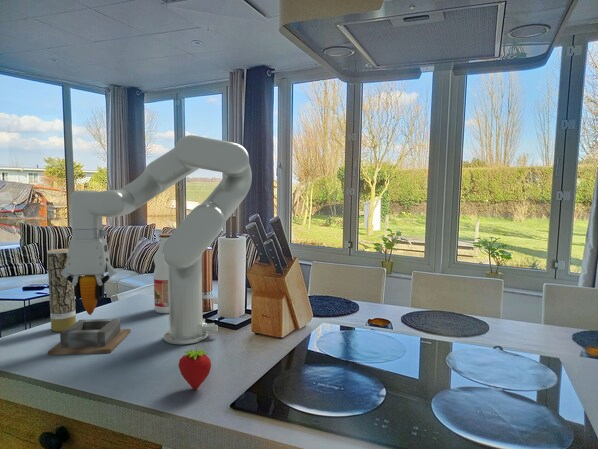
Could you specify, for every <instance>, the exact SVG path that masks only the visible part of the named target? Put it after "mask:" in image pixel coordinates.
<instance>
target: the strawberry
mask: <svg viewBox="0 0 598 449" xmlns="http://www.w3.org/2000/svg"><path fill="white" fill-rule="evenodd" d="M196 343H197V344H196V350H193V349H190V350H187V351H184V353H185V354H183V356H181V357H180V359H179V362H178V365H177V366H178V369H179V371H180V375H181V376H182V377H183V379H184V380H185V381H186V382H187V383H188V385H189V386H190V388H192V389H193V390H197V389H199V388H200V387H201V385H202V383H204V382H205V381H206V378H207V377H208V375H209V374H210V373H211V369H212V361H211V359H210V358H209V356H207V355H209V354H208V352H205V350H206V349H207V348H203V349H198V346H199V342H196Z"/></svg>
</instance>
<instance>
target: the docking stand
mask: <svg viewBox="0 0 598 449" xmlns="http://www.w3.org/2000/svg"><path fill="white" fill-rule="evenodd" d="M130 333H131V328H123V329H122V328H121V318H96V319H93V318H92V319H79V320H76V323H74V324H73V325H71V326H70V327H69V328H67V329H66V330H64V331H62V332H59V337H60V341H59V343H57V344H56V345H54V346H53V347H52V348H50V349H49V350H48V351H47V355H49V356H52V355H53V356H54V355H56V356H58V355H83V354H85V355H87V354H110V353H112V352H113V351H114V350H115V349H116V348H117V347H119V345H120V344H121V343H122V342H123V341H124V340H125V339H126V338H127V337H128V336H129V334H130Z"/></svg>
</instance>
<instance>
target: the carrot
mask: <svg viewBox="0 0 598 449" xmlns="http://www.w3.org/2000/svg"><path fill="white" fill-rule="evenodd" d="M79 283H80V294H81V299H80V300H81V302H82V305H83V307H84V308H83V309H85V311H86V313H87V314H88V315H89V316H92V315H93V313H94V311H95V309H96V306H97V304H98V300H97V299H96V286H97V285H98V283H97V280H96V277H95V275H82V277H81V278H80V280H79Z"/></svg>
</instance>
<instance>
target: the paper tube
mask: <svg viewBox="0 0 598 449" xmlns="http://www.w3.org/2000/svg"><path fill="white" fill-rule="evenodd" d="M68 249H69V248H56V249H55V248H54V249H48V250H47V251H46V252H47V253H46V254H47V274H48V276H47V277H48V290H49V292H48V294H49V311H50V316H49V317H50V329H51V330H52V332H55V333H56V332H58V333H61V332H63V331H64V330H66V329H67V328H69V327H70V326H71V325H73V324H74V323H76V322H77V320H76V319H77V318H76V317H77V316H76V314H77V313H76V296H74V286H73V285H72V283H71V282H70V281H69V280H68V279H67V278H65V277H64V276H62V275H61V272H62V271H63V269H64V268H65V267H66V266H67V260H68ZM73 276H74V275H73Z"/></svg>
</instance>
